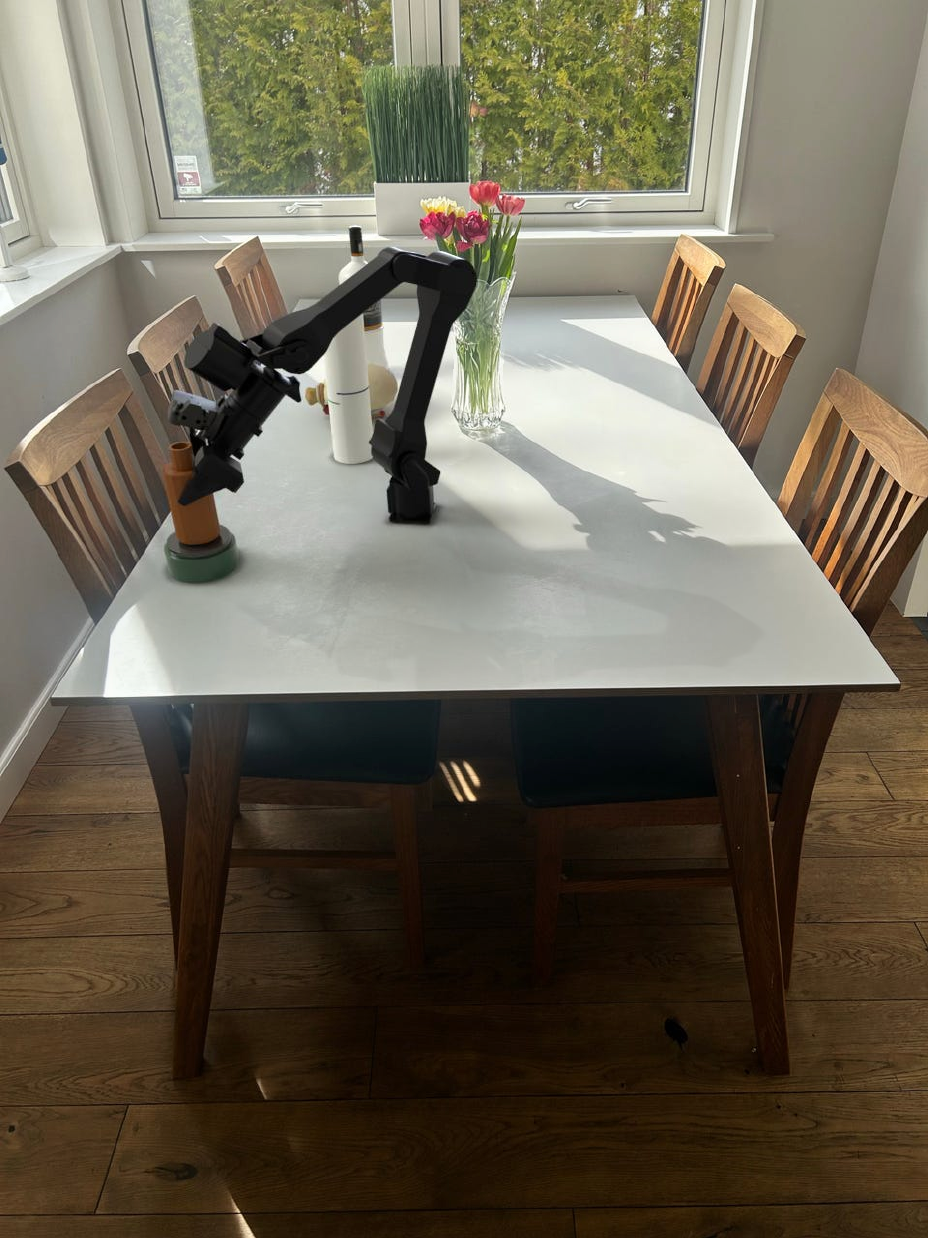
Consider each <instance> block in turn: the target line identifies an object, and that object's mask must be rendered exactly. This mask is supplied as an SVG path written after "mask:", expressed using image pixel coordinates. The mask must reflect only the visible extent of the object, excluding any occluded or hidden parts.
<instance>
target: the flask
mask: <svg viewBox="0 0 928 1238" xmlns="http://www.w3.org/2000/svg"><path fill="white" fill-rule="evenodd" d="M367 370H368V382H369V394H370V407H371V412H373V411H377V410H379V409H384V408H385V407H387V406H388V405H389V404H390V403H392V402H393V401H394V400H395V399H396V397H397V395H398V392H399V385H398V380H397V378H396V376H395V375H394V373H393V372H391V371H390V370H389V369H388V370H387V369H386V368H385V367H382V366H378V365H374V364H367ZM304 398H305V400H306V401H307V403H308V405H310V406H311V407H312V406H314V405H316V404H319V405H321V407H322V412H323V413H324V414H325V415H328V416H330V414H329V404H328V395H327V385H326V378H325V379H324V380H323V381H322V382H319V383H318V384H317V385H315V387H309V386H308V387H306V388H305V394H304ZM385 416H386V412H385V410H380V411H379V412H378V413H371V419H373V418H378V417H380V418H384V417H385Z"/></svg>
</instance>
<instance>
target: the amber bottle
mask: <svg viewBox="0 0 928 1238" xmlns="http://www.w3.org/2000/svg"><path fill="white" fill-rule="evenodd" d="M168 451H169V455H170V461H169V462H166V463H164V465H163V466H162V467H161V474H162V479H163V482H164V487H165V492H166V496H167V500H168V504H169V510H170V513H171V517H172V522H173V527H174V532H176V536H177V539H178V540H179V541H180V542H181V543H184V544H189V545H197V544H203V543H207V542H210V541H212V540H214V539H215V538H217V537H218V536H219V534H220V525H221V524H220V522H219V521H220V520H219V516H218V511H217V506H216V500H215V496H214V493H212V494H210V495H207V496H205V497H203V498H201V499H199V500H197V501H194V502H192V503H190V504H188V505H186V506H183V505H181V504H179V503H178V499H179V497H180V495H181V493H182V491H183V489H184V487H185V486H186V484H187V482H188V480H189V478H190V477H191V475H192V473H193V471H194V467H193V462H192V454H193V455H194V453H193V448H192V444H191V441H176V442H173V443H171V444H170V445H168Z"/></svg>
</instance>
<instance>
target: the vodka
mask: <svg viewBox="0 0 928 1238" xmlns="http://www.w3.org/2000/svg"><path fill="white" fill-rule="evenodd" d="M348 235H349V236H348V237H349V248H350V261H349V263H347V264H346V265H345V266H344V267H343V268H342V269H341V270H340V272H339V273H338V283H339V285H341V284H342V283H343V282H344V281H346V280H347V279H348V278H350V277H351V276H352V275H353V274H355V273H356V272H357V271H359V270H360V269H361V268H363V267H364V266H365V265H366V264H368V263H369V262H368V261H366V260H365V255H364V253H365V252H364V243H363V229H362V226H360V225H351V226H349V227H348ZM363 320H364V333H365V345H366V358H367V364H374V365H378V366H382V367H385V368H386V369H387V370H389V361H388V359H387V354H386V350H385V341H384V329H385V328H384V325H383V312H382V299H381V300H379V301H378V302H377V303H376V304H374V305H373V306H372V307H370V308H369V309H368V310H367V311H365V312H364V313H363Z"/></svg>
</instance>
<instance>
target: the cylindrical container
mask: <svg viewBox="0 0 928 1238" xmlns="http://www.w3.org/2000/svg"><path fill="white" fill-rule="evenodd" d="M322 358H323V367H324V375H325V379H326V385H327V395H328V404H329V414H330V415H329V422H330V433H331V442H332V450H333V458H334V460H335V461H336V462H338V463H341V464H347V465H356V464H357V465H358V464H363V463H367V462H368V461H371V460H373V459H374V458H373V456H372V454H371V448H372V445H370V444H369V441H370V439H371V438H372V436H373V433H374V431H373V421H372V419H373V418H371V415H372V411H371V407H370V394H369V382H368V370H367V358H366V345H365V333H364V320H363V314H361V315H360V316H359V317H358V318H356V319H355V320H354V321H352V322H351V323H350V324H349V325H347V326H346V327H345V328H344V329H342V330H341V331H340V332H339V333H338V334H337V335H336V336H335V337H334V338H333V340H332V342H331V344H330V346H329V348H328V350H327V352H326V353H325V354H324V355H323V356H322Z"/></svg>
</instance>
